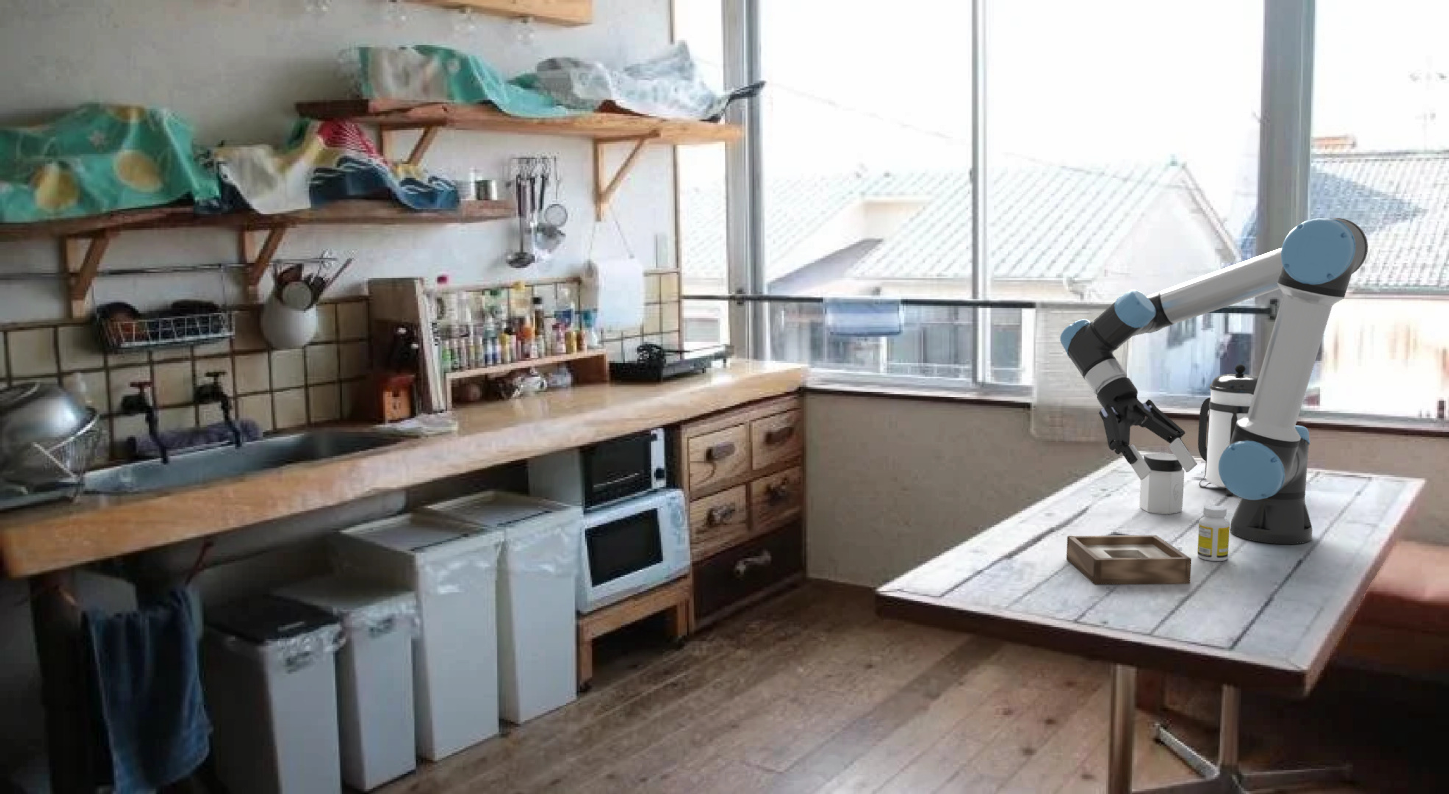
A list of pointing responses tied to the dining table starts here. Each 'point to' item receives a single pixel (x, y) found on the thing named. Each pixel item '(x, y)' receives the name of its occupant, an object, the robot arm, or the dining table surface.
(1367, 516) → the dining table surface
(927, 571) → the dining table surface
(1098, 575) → the socket box
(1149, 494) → the jar
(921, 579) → the dining table surface
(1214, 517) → the supplement bottle
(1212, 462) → the coffee press
